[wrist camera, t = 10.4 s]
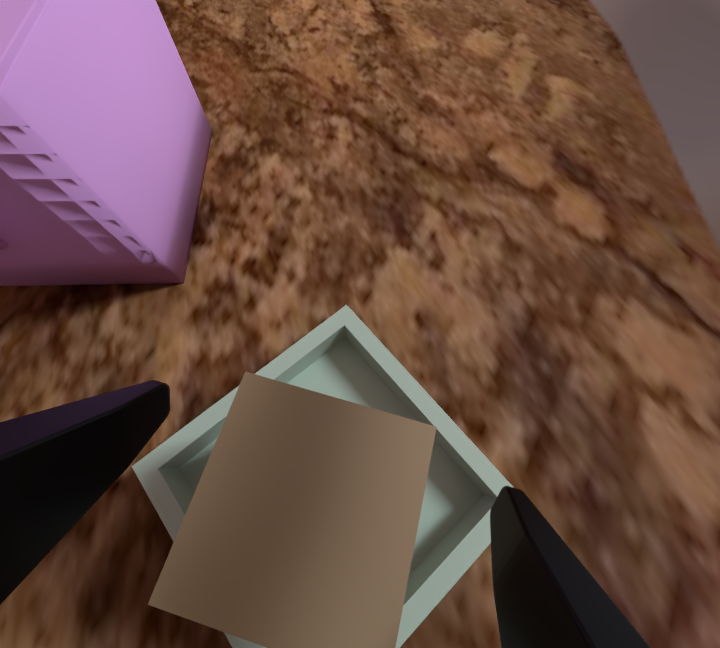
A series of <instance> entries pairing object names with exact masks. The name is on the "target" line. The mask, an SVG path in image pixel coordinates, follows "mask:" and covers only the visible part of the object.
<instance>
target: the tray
mask: <svg viewBox="0 0 720 648" xmlns="http://www.w3.org/2000/svg"><path fill="white" fill-rule="evenodd" d="M255 374H256V375H260V376H263V377H266V378H270V379H273V380H277V381H280V382H284V383H287V384H291V385H294V386H298V387H301V388H304V389H308V390H311V391H315V392H318V393H322V394H325V395H329V396H332V397H336V398H339V399H343V400H346V401H349V402H353V403H356V404H360V405H363V406H367V407H370V408H374V409H377V410H381V411H384V412H387V413H391V414H394V415H398V416H401V417H405V418H408V419H412V420H415V421H419V422H422V423H425V424H429V425H432V426H436V427H437V428H436V433H435V438H434V444H433V449H432V454H431V460H430V465H429V471H428V476H427V481H426V487H425V492H424V497H423V503H422V508H421V513H420V519H419V524H418V529H417V535H416V540H415V545H414V551H413V556H412V562H411V567H410V572H409V578H408V583H407V588H406V594H405V599H404V604H403V610H402V615H401V620H400V626H399V631H398V636H397V642H396V647H395V648H400V647H401V645H402V644H403V643H404V642H405V641H406V640H407V638H408V637H409V636H410V635H411V634H412V633H413V632H414V630H415V629H416V628H417V627H418V626H419V625H420V624H421V622H422V621H423V620H424V619H425V618H426V617H427V615H428V614H429V613H430V612H431V611H432V610H433V609H434V607H435V606H436V605H437V604H438V603H439V602H440V601H441V599H442V598H443V597H444V596H445V595H446V594H447V592H448V591H449V590H450V589H451V588H452V587H453V586H454V584H455V583H456V582H457V581H458V580H459V579H460V578H461V576H462V575H463V574H464V573H465V572H466V571H467V569H468V568H469V567H470V566H471V565H472V564H473V563H474V561H475V560H476V559H477V558H478V557H479V556H480V555H481V553H482V552H483V551H484V550H485V549H486V548H487V546H488V545H489V544H490V543H491V532H490V511H491V508H492V506H493V504H494V502H495V500H496V498H497V496H498V494H499V492H500V491H501V489H502V488H503V487H504V486H510V487H513V486H512V485H511V484H510V483H509V482H508V481H507V480H506V479H505V478H504V476H503V475H502V474H501V473H500V472H499V471H498V470H497V469H496V468H495V467H494V465H493V464H492V463H491V462H490V461H489V460H488V459H487V458H486V457H485V456H484V455H483V453H482V452H481V451H480V450H479V449H478V448H477V447H476V446H475V445H474V444H473V443H472V441H471V440H470V439H469V438H468V437H467V436H466V435H465V434H464V433H463V432H462V430H461V429H460V428H459V427H458V426H457V425H456V424H455V423H454V422H453V421H452V420H451V418H450V417H449V416H448V415H447V414H446V413H445V412H444V411H443V410H442V409H441V408H440V406H439V405H438V404H437V403H436V402H435V401H434V400H433V399H432V398H431V397H430V395H429V394H428V393H427V392H426V391H425V390H424V389H423V388H422V387H421V386H420V385H419V383H418V382H417V381H416V380H415V379H414V378H413V377H412V376H411V375H410V374H409V373H408V371H407V370H406V369H405V368H404V367H403V366H402V365H401V364H400V363H399V362H398V360H397V359H396V358H395V357H394V356H393V355H392V354H391V353H390V352H389V351H388V350H387V348H386V347H385V346H384V345H383V344H382V343H381V342H380V341H379V340H378V339H377V338H376V336H375V335H374V334H373V333H372V332H371V331H370V330H369V329H368V328H367V327H366V325H365V324H364V323H363V322H362V321H361V320H360V319H359V318H358V317H357V316H356V315H355V313H354V312H353V311H352V310H351V309H350V308H349V307H348V306H347V305H346V306H344V307H343V308H342V309H340V310H339V311H338V312H336V313H335V314H334V315H332V316H331V317H330V318H328V319H327V320H326V321H324V322H323V323H322V324H320V325H319V326H318V327H316V328H315V329H314V330H312V331H311V332H310V333H308V334H307V335H306V336H304V337H303V338H302V339H300V340H299V341H298V342H296V343H295V344H294V345H292V346H291V347H290V348H288V349H287V350H286V351H284V352H283V353H282V354H280V355H279V356H278V357H276V358H275V359H274V360H272V361H271V362H270V363H268V364H267V365H266V366H264V367H263V368H262V369H260V370H259V371H258V372H256V373H255ZM238 388H239V386H238V387H237V388H235V389H234V390H233V391H231V392H230V393H229V394H227V395H226V396H225V397H223V398H222V399H221V400H219V401H218V402H217V403H215V404H214V405H213V406H211V407H210V408H209V409H207V410H206V411H205V412H203V413H202V414H201V415H199V416H198V417H197V418H195V419H194V420H193V421H191V422H190V423H189V424H187V425H186V426H185V427H183V428H182V429H181V430H179V431H178V432H177V433H175V434H174V435H173V436H171V437H170V438H169V439H167V440H166V441H165V442H163V443H162V444H161V445H159V446H158V447H157V448H155V449H154V450H153V451H151V452H150V453H149V454H147V455H146V456H145V457H144V458H142V459H141V460H140V461H138V462H137V463H136V464H134V465H133V466H132V468H133V470H134V472H135V473H136V475H137V477H138V479H139V481H140V482H141V484H142V486H143V488H144V490H145V491H146V493H147V495H148V497H149V499H150V500H151V502H152V504H153V506H154V508H155V509H156V511H157V513H158V515H159V517H160V518H161V520H162V522H163V524H164V526H165V527H166V529H167V531H168V533H169V535H170V536H171V538H172V540H173V542H174V540H175V538H176V536H177V533H178V531H179V528H180V526H181V524H182V521H183V519H184V517H185V514H186V512H187V509H188V507H189V505H190V502H191V500H192V497H193V495H194V493H195V490H196V488H197V486H198V483H199V481H200V478H201V476H202V474H203V471H204V469H205V466H206V464H207V462H208V459H209V457H210V455H211V452H212V450H213V447H214V445H215V443H216V440H217V438H218V435H219V433H220V431H221V428H222V426H223V424H224V421H225V419H226V416H227V414H228V412H229V409H230V407H231V405H232V402H233V400H234V397H235V395H236V393H237V390H238ZM513 488H514V487H513ZM224 634H225V635H226V637H227V639H228V641H229V643H230V644H231V646H232V648H266V647H263V646H260V645H258V644H255V643H252V642H249V641H247V640H244V639H241V638H238V637H236V636H233V635H230V634H227V633H225V632H224Z"/></svg>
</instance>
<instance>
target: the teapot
mask: <svg viewBox="0 0 720 648" xmlns="http://www.w3.org/2000/svg"><path fill="white" fill-rule="evenodd" d="M211 136H212V130H211V128H210V125H209V123H208V121H207V118H206V116H205V114H204V111H203V109H202V107H201V105H200V102H199V100H198V98H197V95H196V93H195V91H194V88H193V86H192V84H191V81H190V79H189V77H188V75H187V72H186V70H185V68H184V65H183V63H182V61H181V58H180V56H179V54H178V51H177V49H176V47H175V45H174V42H173V40H172V38H171V35H170V33H169V31H168V28H167V26H166V24H165V21H164V19H163V17H162V14H161V12H160V10H159V8H158V5H157V3H156V1H155V0H0V287H2V286H57V285H113V284H168V283H184V279H185V274H186V269H187V263H188V258H189V253H190V247H191V242H192V237H193V231H194V226H195V221H196V216H197V210H198V205H199V200H200V194H201V189H202V184H203V178H204V173H205V168H206V162H207V157H208V152H209V146H210V141H211Z"/></svg>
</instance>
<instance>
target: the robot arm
mask: <svg viewBox="0 0 720 648" xmlns="http://www.w3.org/2000/svg"><path fill="white" fill-rule="evenodd" d="M169 411H170V388H169V386H168V385H167V384H166V383H162V382H159V381H155V380H152V381H148V382H144V383H140V384H137V385H133V386H130V387H126V388H122V389H119V390H115V391H112V392H108V393H105V394H101V395H97V396H94V397H90V398H87V399H83V400H79V401H76V402H72V403H69V404H65V405H61V406H58V407H54V408H51V409H47V410H43V411H40V412H36V413H33V414H29V415H25V416H22V417H18V418H15V419H11V420H7V421H4V422H0V604H1V603H2V602H3V601H4V600H5V599H6V598H7V597H8V596H9V595H10V594H11V593H12V592H13V590H14V589H15V588H16V587H17V586H18V585H19V584H20V583H21V582H22V581H23V580H24V579H25V578H26V576H27V575H28V574H29V573H30V572H31V571H32V570H33V569H34V568H35V567H36V566H37V565H38V564H39V562H40V561H41V560H42V559H43V558H44V557H45V556H46V555H47V554H48V553H49V552H50V551H51V550H52V548H53V547H54V546H55V545H56V544H57V543H58V542H59V541H60V540H61V539H62V538H63V537H64V536H65V534H66V533H67V532H68V531H69V530H70V529H71V528H72V527H73V526H74V525H75V524H76V523H77V522H78V521H79V519H80V518H81V517H82V516H83V515H84V514H85V513H86V512H87V511H88V510H89V509H90V508H91V507H92V505H93V504H94V503H95V502H96V501H97V500H98V499H99V498H100V497H101V496H102V495H103V494H104V493H105V491H106V490H107V489H108V488H109V487H110V486H111V485H112V484H113V483H114V482H115V481H116V480H117V479H118V477H119V476H120V475H121V474H122V473H123V472H124V471H125V470H126V469H127V468H128V466H129V465H130V464H131V463H132V462H133V460H134V459H135V458H136V457H137V455H138V454H139V453H140V451H141V450H142V449H143V447H144V446H145V445H146V444H147V442H148V441H149V440H150V438H151V437H152V436H153V435H154V433H155V432H156V431H157V429H158V428H159V427H160V425H161V424H162V423H163V422H164V420H165V419H166V418H167V416H168V414H169ZM490 532H491V556H492V578H493V589H494V598H495V605H496V612H497V619H498V626H499V633H500V640H501V647H502V648H650V647H649V645H648V644H647V643H646V642H645V641H644V639H643V638H642V637H641V636H640V634H639V633H638V632H637V631H636V629H635V628H634V627H633V626H632V625H631V623H630V622H629V621H628V620H627V618H626V617H625V616H624V615H623V614H622V612H621V611H620V610H619V609H618V607H617V606H616V605H615V604H614V602H613V601H612V600H611V599H610V598H609V596H608V595H607V594H606V593H605V591H604V590H603V589H602V588H601V587H600V585H599V584H598V583H597V582H596V580H595V579H594V578H593V577H592V575H591V574H590V573H589V572H588V571H587V569H586V568H585V567H584V566H583V564H582V563H581V562H580V561H579V560H578V558H577V557H576V556H575V555H574V553H573V552H572V551H571V550H570V548H569V547H568V546H567V545H566V544H565V542H564V541H563V540H562V539H561V537H560V536H559V535H558V534H557V532H556V531H555V530H554V529H553V528H552V526H551V525H550V524H549V523H548V521H547V520H546V519H545V518H544V517H543V515H542V514H541V513H540V512H539V510H538V509H537V508H536V507H535V505H534V504H533V503H532V502H531V501H530V499H529V498H528V497H527V496H526V494H525V493H524V492H523V491H522V490H520V489H516V488H513V487H510V486H504V487H503V488H502V489H501V491H500V492H499V494H498V496H497V498H496V500H495V502H494V504H493V506H492V508H491V511H490Z"/></svg>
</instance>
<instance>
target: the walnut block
mask: <svg viewBox="0 0 720 648" xmlns="http://www.w3.org/2000/svg"><path fill="white" fill-rule="evenodd" d="M436 428H437V427H436V426H432V425H429V424H425V423H422V422H419V421H415V420H412V419H408V418H405V417H401V416H398V415H394V414H391V413H387V412H384V411H381V410H377V409H374V408H370V407H367V406H363V405H360V404H356V403H353V402H349V401H346V400H343V399H339V398H336V397H332V396H329V395H325V394H322V393H318V392H315V391H311V390H308V389H304V388H301V387H298V386H294V385H291V384H287V383H284V382H280V381H277V380H273V379H270V378H266V377H263V376H260V375H256V374H253V373H249V372H246V371H245V374H244V376H243V378H242V381H241V383H240V385H239V388H238V390H237V393H236V395H235V397H234V400H233V402H232V405H231V407H230V409H229V412H228V414H227V416H226V419H225V421H224V424H223V426H222V428H221V431H220V433H219V435H218V438H217V440H216V443H215V445H214V447H213V450H212V452H211V455H210V457H209V459H208V462H207V464H206V466H205V469H204V471H203V474H202V476H201V478H200V481H199V483H198V486H197V488H196V490H195V493H194V495H193V497H192V500H191V502H190V505H189V507H188V509H187V512H186V514H185V517H184V519H183V521H182V524H181V526H180V528H179V531H178V533H177V536H176V538H175V540H174V543H173V545H172V548H171V550H170V552H169V555H168V557H167V559H166V562H165V564H164V567H163V569H162V571H161V574H160V576H159V578H158V581H157V583H156V586H155V588H154V590H153V593H152V595H151V598H150V600H149V602H148V605H150V606H153V607H156V608H158V609H161V610H164V611H167V612H169V613H172V614H175V615H178V616H180V617H183V618H186V619H189V620H192V621H194V622H197V623H200V624H203V625H205V626H208V627H211V628H214V629H216V630H219V631H222V632H225V633H227V634H230V635H233V636H236V637H238V638H241V639H244V640H247V641H249V642H252V643H255V644H258V645H260V646H263V647H266V648H395V647H396V642H397V636H398V631H399V626H400V620H401V615H402V610H403V604H404V599H405V594H406V588H407V583H408V578H409V572H410V567H411V562H412V556H413V551H414V545H415V540H416V535H417V529H418V524H419V519H420V513H421V508H422V503H423V497H424V492H425V487H426V481H427V476H428V471H429V465H430V460H431V454H432V449H433V444H434V438H435V433H436Z"/></svg>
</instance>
